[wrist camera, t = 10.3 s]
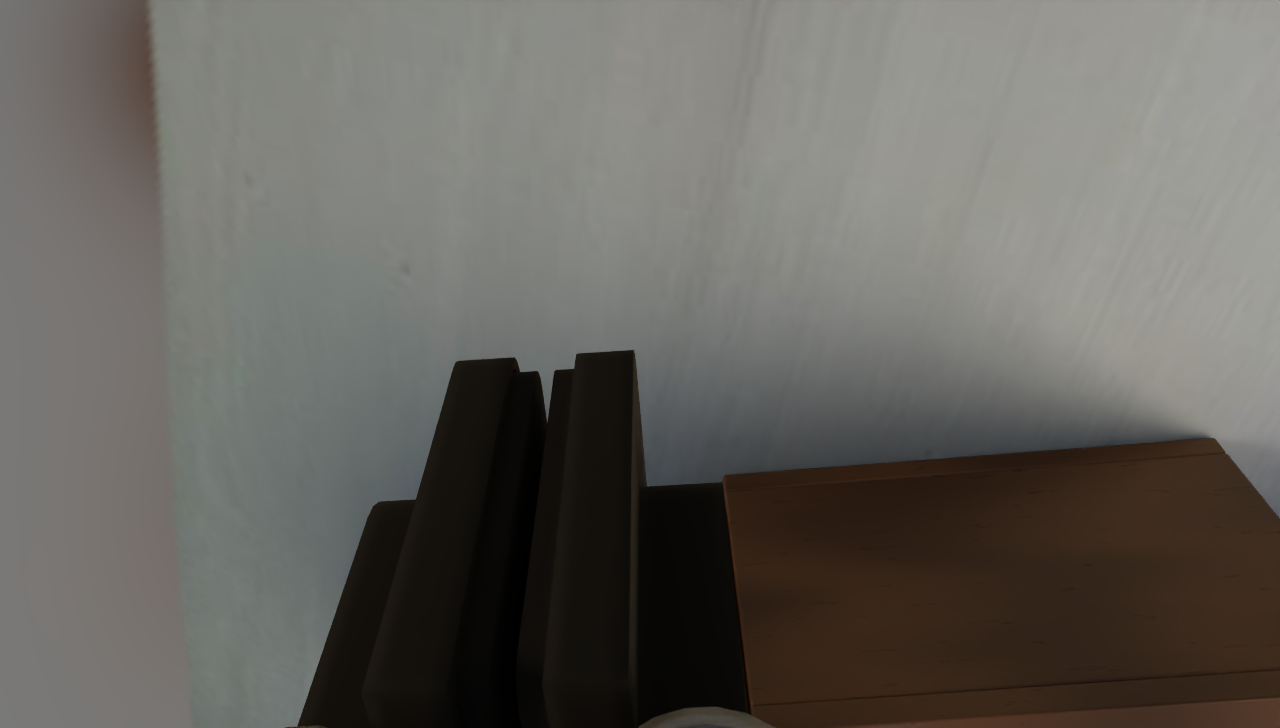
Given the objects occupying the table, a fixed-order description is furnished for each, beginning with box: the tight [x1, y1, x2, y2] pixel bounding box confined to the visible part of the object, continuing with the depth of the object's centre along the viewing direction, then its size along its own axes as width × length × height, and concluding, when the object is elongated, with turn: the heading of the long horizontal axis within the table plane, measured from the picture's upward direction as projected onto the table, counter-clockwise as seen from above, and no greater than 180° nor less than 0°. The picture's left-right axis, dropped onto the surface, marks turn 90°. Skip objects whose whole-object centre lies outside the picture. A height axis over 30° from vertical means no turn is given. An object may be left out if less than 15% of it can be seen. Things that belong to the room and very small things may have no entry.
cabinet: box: [723, 438, 1280, 728], centre depth 31 cm, size 15×13×10 cm
